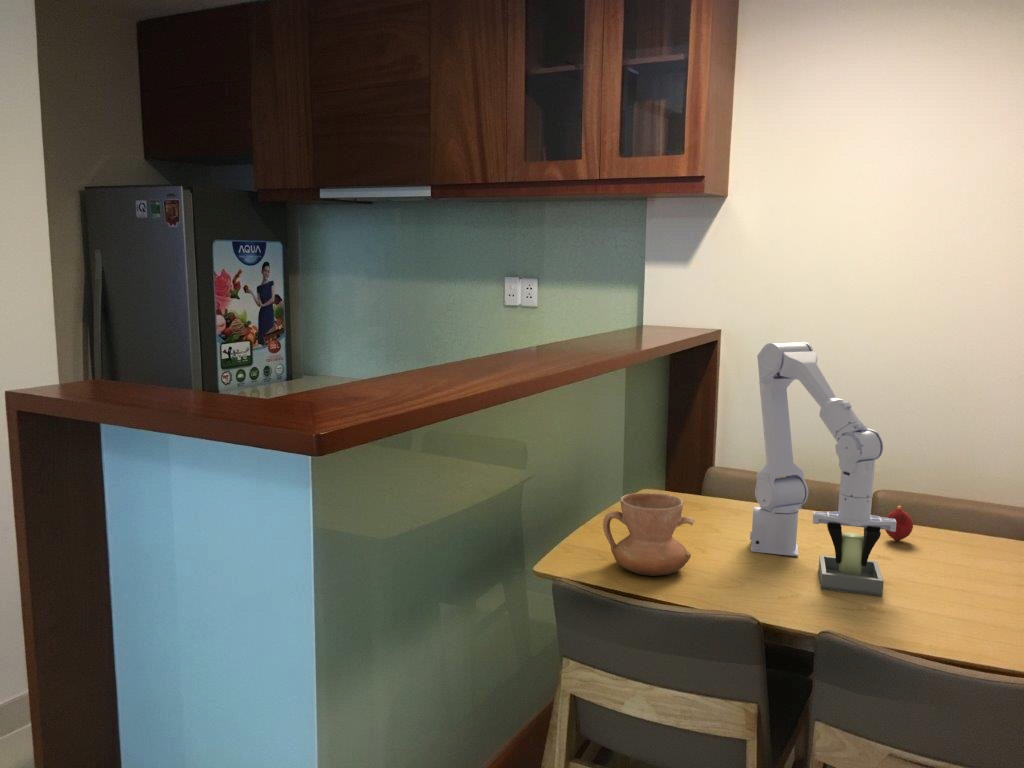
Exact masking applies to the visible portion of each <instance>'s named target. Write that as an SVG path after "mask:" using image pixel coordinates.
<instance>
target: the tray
mask: <svg viewBox="0 0 1024 768" xmlns="http://www.w3.org/2000/svg"><path fill="white" fill-rule="evenodd" d="M878 562H879V561H877V560H869V559H868V560H867V564H866V566H862V571H861V574H859V575H848V574H844V573H842V572H840V571H839V563H836V556H831V555H822V554H819V557H818V576H819V584H821V585H820V589H821V590H824V589H825V590H826V591H832V592H833V591H834V592H840V593H841V592H842V593H848V594H849V593H850V594H859V595H865V596H866V595H867V596H875V597H883V593H884V592H883V591H884V584H885V583H884V582H885V581H884V577H883V575H882V572H881V568H880V565H879V563H878ZM825 590H824V591H825Z"/></svg>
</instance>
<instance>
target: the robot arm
mask: <svg viewBox="0 0 1024 768" xmlns="http://www.w3.org/2000/svg"><path fill="white" fill-rule="evenodd" d="M817 363H818V354H817V352H815V351H814V349H813V347H812V346H811V344H810V343H808V342H806V341H799V342H785V343H784V342H782V343H781V342H780V343H777V342H776V343H774V342H768V343H766V344H765V345H764V346H763V347H762V348H761V349H760V351H759V352H758V354H757V367H758V368H757V369H758V377H759V379H758V382H759V383H758V384H759V393H760V406H761V415H762V426H763V428H762V429H763V439H764V449H765V460H766V461H765V462H766V464H765V465H763V467H762V468H760V470H759V471H757V473H756V484H755V489H754V495H755V499H756V502H757V503H758V505H759V506H753V507H752V521H751V522H752V523H751V524H752V525H751V531H750V532H749V533H750V534H749V541H751V544H750V552H752V553H761V554H770V555H780V556H789V557H798V556H799V546H798V545H799V544H798V542H797V539H798V526H799V525H798V524H799V523H798V522H799V521H798V520H799V510H802V505H803V504H805V503H806V502H807V501H808V498H809V487H808V485H807V482H806V479H805V477H804V470H803V469H802V468H800V466H798V465H797V464H796V463H795V462H794V455H793V444H792V435H791V434H792V433H791V422H790V421H791V420H790V411H789V400H788V390H787V389H788V387H789V386H790V385H791V383H793V382H794V381H795V380H798V381H799V383H801V385H802V386H803V387H804V388H805V390H806V391H807V392H808V393H809V395H810V396H811V397H812V398H813V399H814V401H815V402H816V404H818V405H819V407H820V408H819V409H820V410H819V417H820V419H821V421H822V422H823V423H824V425H825V427H826V428H827V430H828V431H829V433H830V434H831V435H832V437H833V438H834V440H835V441H836V444H835V445H834V446H835V453H836V455H837V457H838V461H839V462H838V467H839V469H840V470H841V471H840V479H839V481H840V482H839V497H838V498H839V499H838V509H837V510H838V511H815V510H814V511H812V512H813V513H812V524H813V525H819V524H825V525H826V526H827V531H828V533H829V536H830V539H831V541H832V545H833V548H834V553H835V554H834V555H835V557H836V563H840V560H841V552H840V547H841V537H842V533H843V530H842V526H843V527H844V526H845V527H854V528H855V527H856V528H863V536H864V545H863V558H862V566H866V564H867V560H869V557H870V555H871V552H872V550H873V548H874V546H875V545H876V543H877V542H878V540H879V539H880V537H881V534H882V533H881V530H889V531H893V532H896V520H895V519H891V518H886V517H884V516H878V515H874V514H873V515H872V505H873V504H872V501H873V489H874V477H875V476H874V475H875V463H876V460H878V459H879V458H880V457H881V456H882V454H883V451H884V441H883V440H882V437H881V435H880V434H879V432H878V431H876V430H874V429H871V428H869V427H868V426H867V425H864V423H863V422H862V420H860V418H859V417H858V415H857V414H856V413H855V411H854V410H853V408H852V405H851V403H850V402H849V401H847V400H846V399H842V398H838V397H837V396H836V394H835V393H834V391H833V389H832V388H831V386H830V384H829V382H828V381H827V379H826V378H825V376H824V374H823V373H822V371H821V368H819V366H818V364H817Z"/></svg>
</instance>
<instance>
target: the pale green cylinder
mask: <svg viewBox="0 0 1024 768" xmlns="http://www.w3.org/2000/svg"><path fill="white" fill-rule="evenodd" d="M863 545H864V535H862V534H860V533H856V532H842V537H841V547H840V552H841V560H840V563H839V571H840V572H842V573H844V574H848V575H859V574H861V571H862V558H863Z"/></svg>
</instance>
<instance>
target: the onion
mask: <svg viewBox="0 0 1024 768" xmlns="http://www.w3.org/2000/svg"><path fill="white" fill-rule="evenodd" d="M885 518H891V519H895V520H896V532H893V531H889V530H885V532H886V534H887V535H888V536H889V537H890V538H891V539H892V540H893V541H895V542H901V541H902V540H904V539H906V538H907V537H909V536H910V535H911V533H912V532H913V528H914V521H913V519H912V518H911V516H910V515H909V513H907V512H906V511H904V510H903V506H901V505H900V504H899V505H897V507H896V509H894V510H892V511H890V512H888V514H887V515H886V517H885Z"/></svg>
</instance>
